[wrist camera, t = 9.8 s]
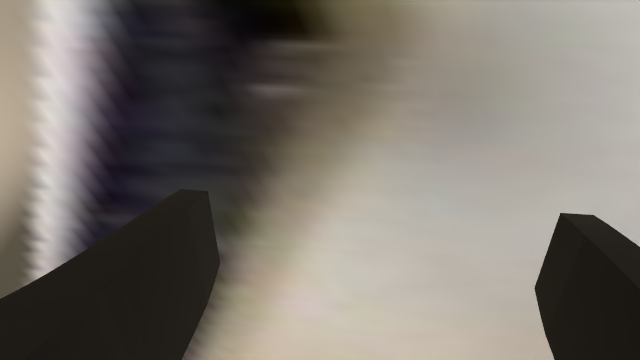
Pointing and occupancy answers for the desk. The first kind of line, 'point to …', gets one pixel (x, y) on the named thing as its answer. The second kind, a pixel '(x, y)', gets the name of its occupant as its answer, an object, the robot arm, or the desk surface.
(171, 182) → the desk surface
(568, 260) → the robot arm
